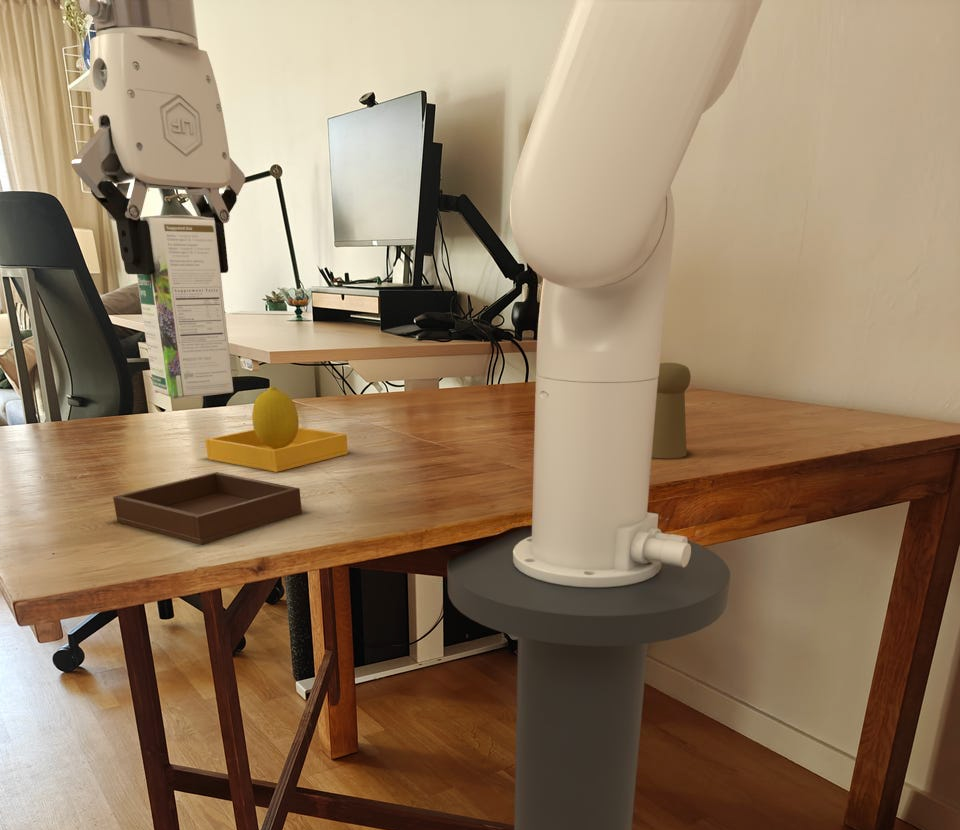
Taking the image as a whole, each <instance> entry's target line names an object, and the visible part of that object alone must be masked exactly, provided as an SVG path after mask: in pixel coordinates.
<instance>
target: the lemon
mask: <svg viewBox="0 0 960 830" xmlns="http://www.w3.org/2000/svg"><path fill="white" fill-rule="evenodd" d="M251 415H252V416H251V417H252V418H251V420H252V426H253V427H252V428H253V429H254V431H255V433H256V435H257V437H258V438H259V440H260V441H261V442H262V443H263V444H265V445H266V446H269V447H271V448H272V449H279V448H283V447H286V446H288V445H289V444H291V443H292V442H293V440H294V439H295V437H296V435H297V432H298V427H300V426H299V425H300V424H299V422H300V421H299V416H298V415H299V414H298V409H297V407H296V405H295V403H294V401H293V399H292V398H291V397H290V395H289V394H287V393H285V392H284V391H281V390H280V389H278V388H277V387H276V386H270V387H269V388H267V390H265V391H263V392H261V393H260V394H259V395H258V396H257V398H256V399H255V401H254V402H253V407H252V413H251Z"/></svg>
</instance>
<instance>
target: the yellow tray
mask: <svg viewBox="0 0 960 830" xmlns="http://www.w3.org/2000/svg"><path fill="white" fill-rule="evenodd" d="M347 436H348V435H347V433H341V432H334V431H327V430H320V429H314V428H307V427H300V426H298V432H297V435H296V437H295V439H294V440H293V442H292V443H291V444H289V445H288V446H286V447H283V448H279V449H272V448H271V447H269V446H266V445H265V444H263V443H262V442H261V441H260V440H259V438H258V437H257V435H256V433H255V431H254V428H253V429H249V430H248V429H247V430H243V431H239V432H233V433H229V434H223V435H219V436H213V437H209V438H205V439H204V440H205V448H206V455H207V460H210V461H215V462H220V463H226V464H232V465H237V466H241V467H247V468H253V469H257V470H263V471H269V472H275V473H278V472H282V471H287V470H290V469H294V468H299V467H302V466H306V465H310V464H314V463H317V462H323V461H326V460H329V459H333V458H337V457H341V456H345V455H348V454H349V451H348V437H347Z"/></svg>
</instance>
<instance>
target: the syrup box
mask: <svg viewBox="0 0 960 830" xmlns="http://www.w3.org/2000/svg"><path fill="white" fill-rule="evenodd" d="M140 218H141V220H147V223H148V225H149V230H150V238H151V245H152V253H153V261H154V269H155V272H154V273H153V274H151V275H142V274H136V279H137V285H138V287H137V288H138V294H139V300H140V301H139V302H140V308H141V316H142V322H143V330H144V337H145V343H146V344H145V345H146V349H147V351H146V352H147V357H148V364H149V369H150V375H151V380H152V382H151V383H152V389H153V393H156V394H158V393H159V394H161V395H165V396H167V397H170V398H172V399H174V400H176V399H186V398H187V399H188V398H196V397H206V396H214V395H216V396H217V395H222V394H231V393H234V384H233V374H232V366H231V365H232V363H231V354H230V346H229V336H228V328H227V319H226V310H225V301H224V292H223V283H222V282H223V281H222V273H221V272H220V263H219V254H218V245H217V236H216V228H215V220H214V218H207V217H200V216H197V215H188V214H161V215H159V214H158V215H150V216H140Z"/></svg>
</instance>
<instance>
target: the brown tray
mask: <svg viewBox="0 0 960 830" xmlns="http://www.w3.org/2000/svg"><path fill="white" fill-rule="evenodd" d="M300 489H301V488H300V487H295V486H289V485H285V484H280V483H276V482H275V483H274V482H270V481H265V480H260V479H254V478H249V477H245V476H239V475H235V474H234V475H233V474H228V473H223V472H220V471H219V472H218V471H214V472H209V473H205V474H202V475H197V476H192V477H189V478H185V479H181V480H176V481H173V482H168V483H164V484H160V485H156V486H151V487H147V488H143V489H139V490H135V491H130V492H127V493H123V494H119V495H113V496H112V499H113V500H112V501H113V506H114V510H115V516H116V521H117V523H119V524H123V525H127V526H131V527H134V528H137V529H141V530H145V531H149V532H153V533H156V534H160V535H163V536H164V535H165V536H168V537H171V538H176V539H180V540H182V541H187V542H191V543H195V544H199V545H205V544H208V543H211V542H214V541H218V540H220V539H223V538H227V537H230V536H233V535H236V534H240V533H243V532H246V531H249V530H252V529H255V528H259V527H262V526H265V525H269V524H271V523H275V522H278V521H281V520H284V519H288V518H291V517H294V516H296V515H300V514H302V511H303V510H302V499H301V490H300Z"/></svg>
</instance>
